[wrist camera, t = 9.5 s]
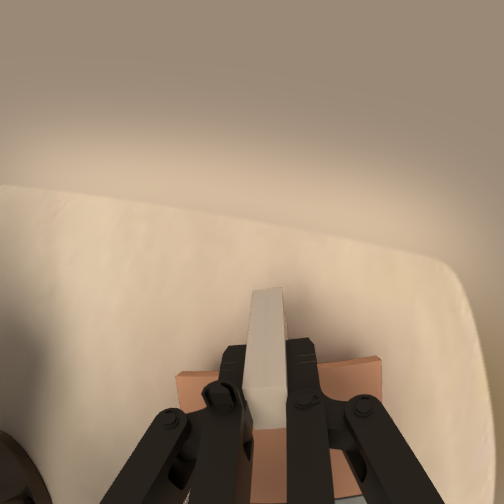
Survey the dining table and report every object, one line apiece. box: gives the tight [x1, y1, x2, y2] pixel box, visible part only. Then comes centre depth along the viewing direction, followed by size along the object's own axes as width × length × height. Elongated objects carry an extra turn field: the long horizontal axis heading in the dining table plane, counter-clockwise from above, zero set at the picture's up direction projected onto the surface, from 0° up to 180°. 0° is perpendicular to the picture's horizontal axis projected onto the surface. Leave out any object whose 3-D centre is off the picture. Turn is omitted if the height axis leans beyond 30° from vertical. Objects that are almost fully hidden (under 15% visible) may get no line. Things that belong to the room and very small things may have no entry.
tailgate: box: [175, 356, 382, 503], centre depth 16 cm, size 2×12×10 cm
